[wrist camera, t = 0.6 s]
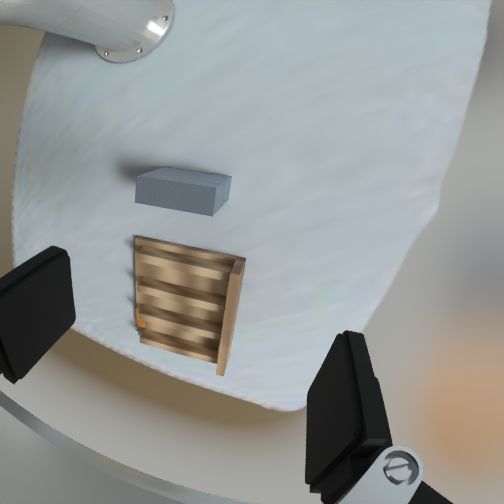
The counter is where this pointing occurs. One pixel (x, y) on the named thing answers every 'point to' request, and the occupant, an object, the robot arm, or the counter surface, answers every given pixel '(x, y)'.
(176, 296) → the rack
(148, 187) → the block
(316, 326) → the counter surface
